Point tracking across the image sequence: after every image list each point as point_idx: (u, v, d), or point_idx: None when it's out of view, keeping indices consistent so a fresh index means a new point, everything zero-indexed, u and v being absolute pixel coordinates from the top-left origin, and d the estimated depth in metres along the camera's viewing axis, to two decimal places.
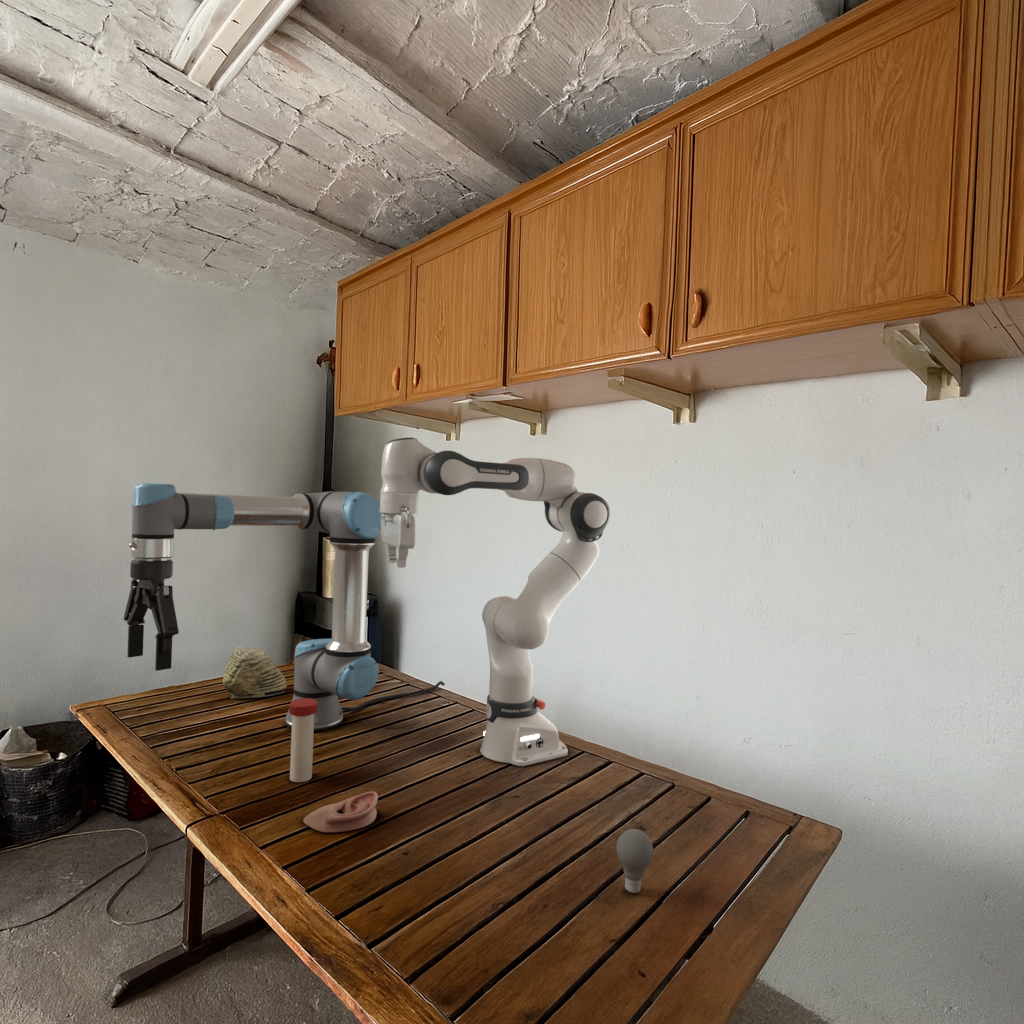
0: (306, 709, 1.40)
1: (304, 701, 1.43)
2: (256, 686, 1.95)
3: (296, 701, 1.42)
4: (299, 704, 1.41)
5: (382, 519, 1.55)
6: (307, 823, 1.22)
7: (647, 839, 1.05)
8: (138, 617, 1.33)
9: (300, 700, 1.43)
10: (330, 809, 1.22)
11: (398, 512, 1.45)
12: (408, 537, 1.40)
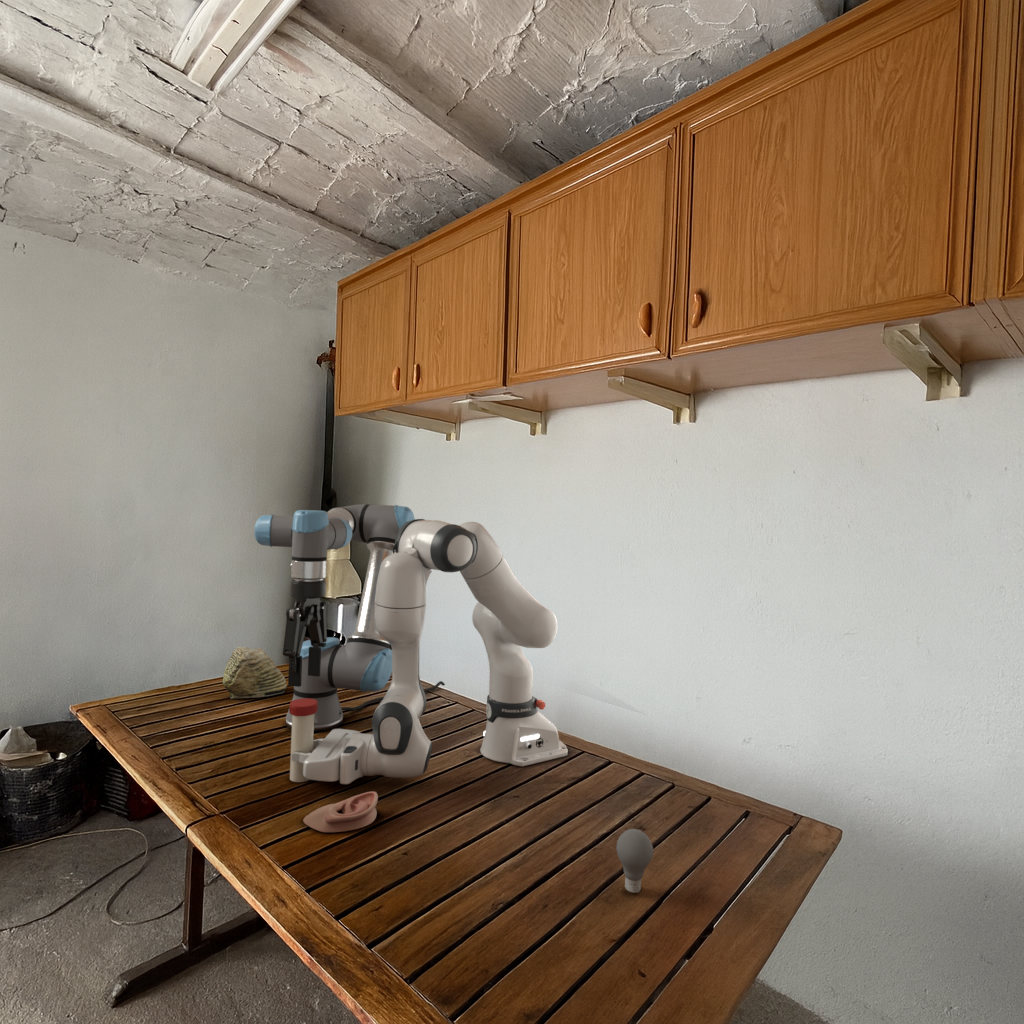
0: (306, 709, 1.40)
1: (304, 701, 1.43)
2: (256, 686, 1.95)
3: (296, 701, 1.43)
4: (299, 704, 1.41)
5: None
6: (307, 823, 1.22)
7: (647, 839, 1.05)
8: (314, 638, 1.46)
9: (300, 700, 1.43)
10: (330, 809, 1.22)
11: None
12: None
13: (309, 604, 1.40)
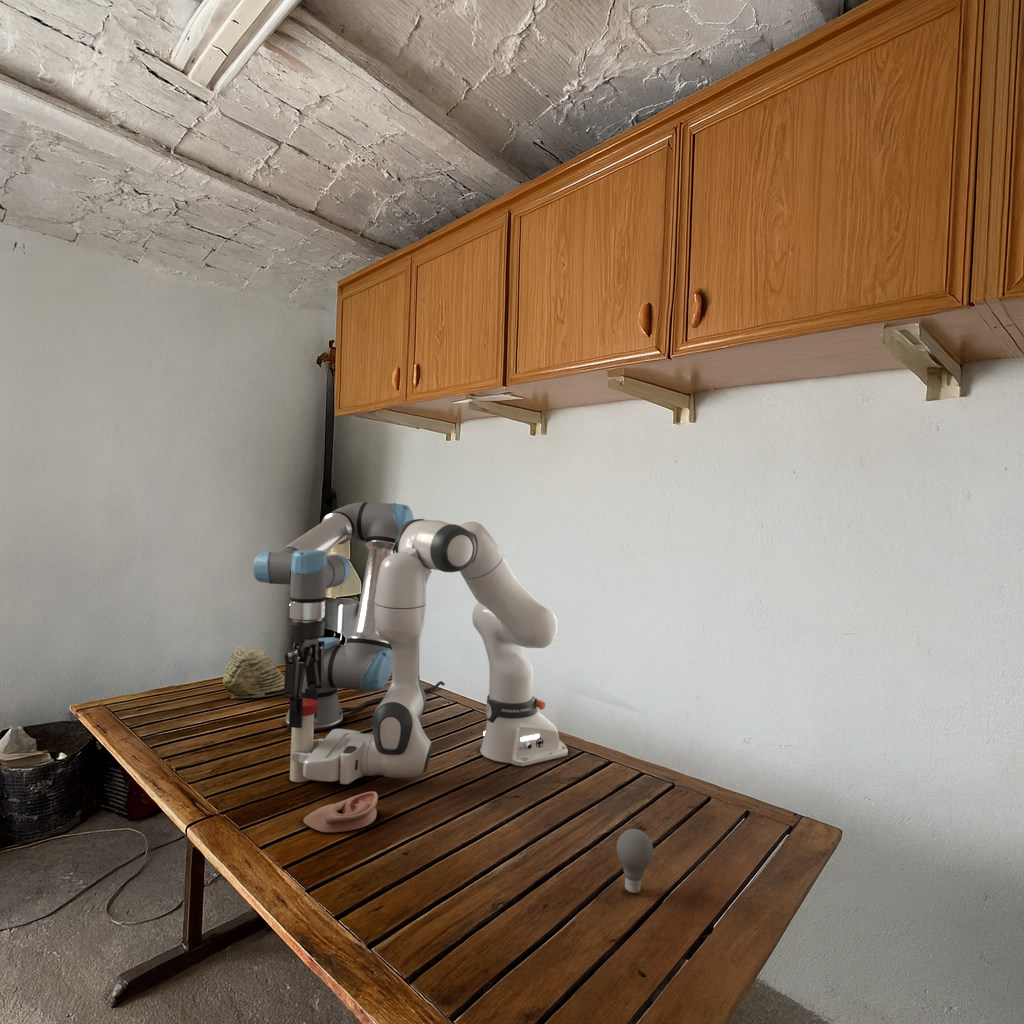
0: (306, 709, 1.40)
1: (304, 701, 1.43)
2: (256, 686, 1.95)
3: None
4: None
5: None
6: (307, 823, 1.22)
7: (647, 839, 1.05)
8: (311, 678, 1.45)
9: None
10: (330, 809, 1.22)
11: None
12: None
13: (307, 644, 1.40)
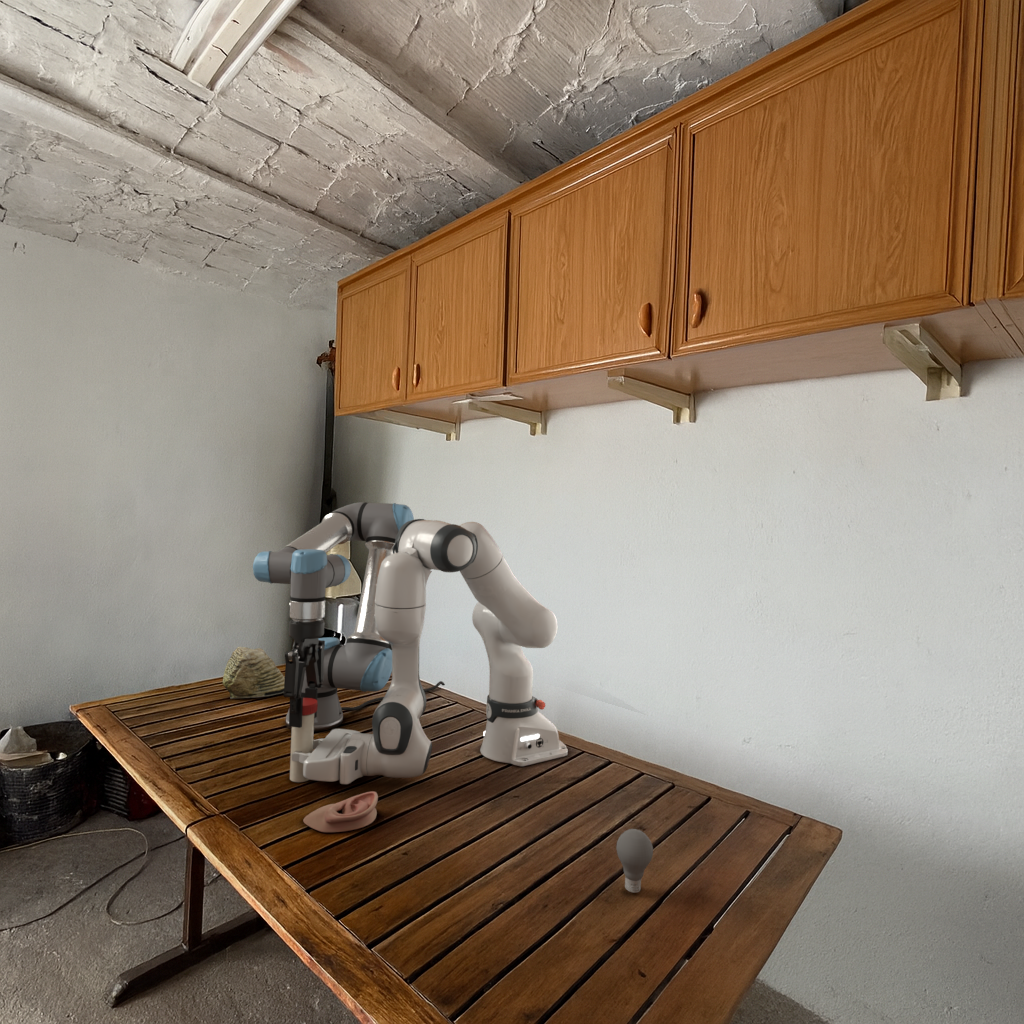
0: (316, 705, 1.42)
1: None
2: (256, 686, 1.95)
3: None
4: (307, 703, 1.41)
5: None
6: (307, 823, 1.22)
7: (647, 839, 1.05)
8: (311, 678, 1.45)
9: None
10: (330, 809, 1.22)
11: None
12: None
13: (307, 644, 1.40)
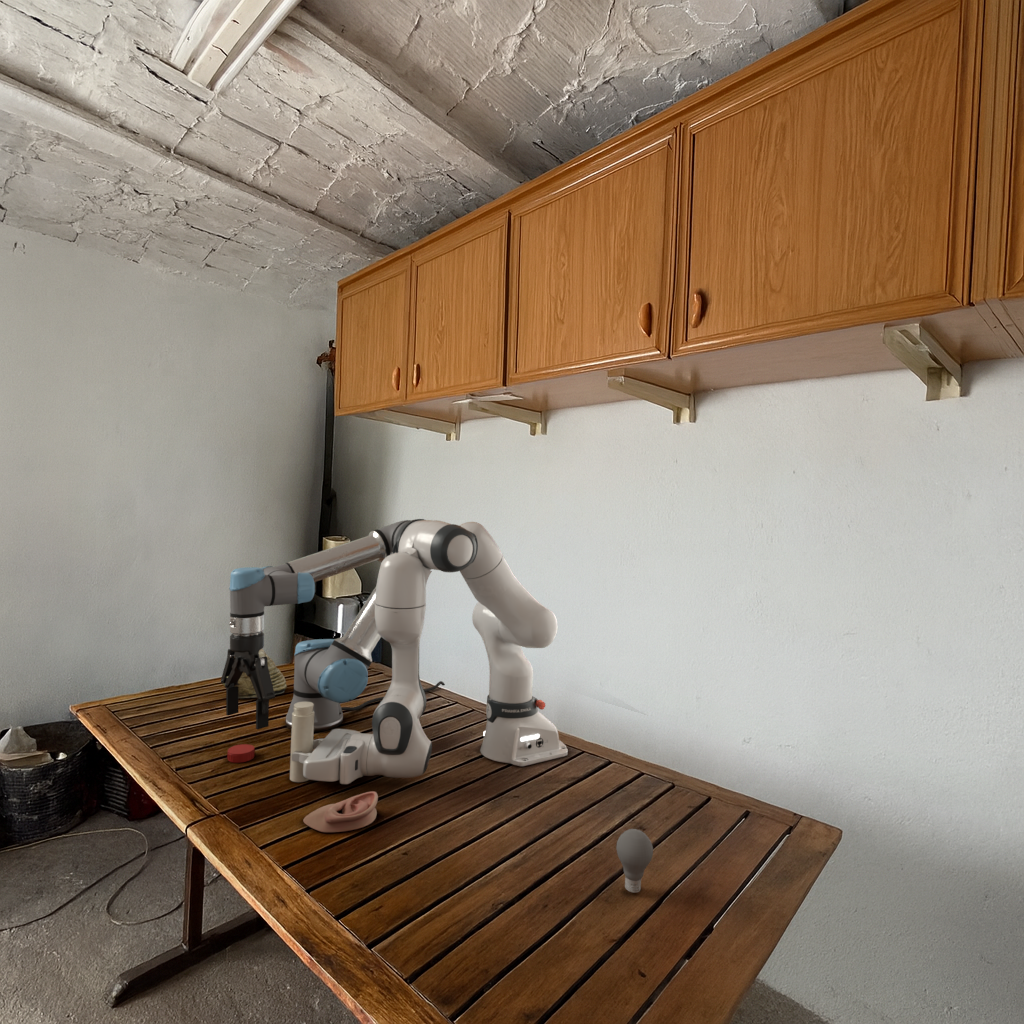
0: None
1: (238, 749, 1.51)
2: None
3: (241, 751, 1.50)
4: (248, 748, 1.52)
5: None
6: (307, 823, 1.22)
7: (647, 839, 1.05)
8: (234, 681, 1.55)
9: (236, 751, 1.50)
10: (330, 809, 1.22)
11: None
12: None
13: None
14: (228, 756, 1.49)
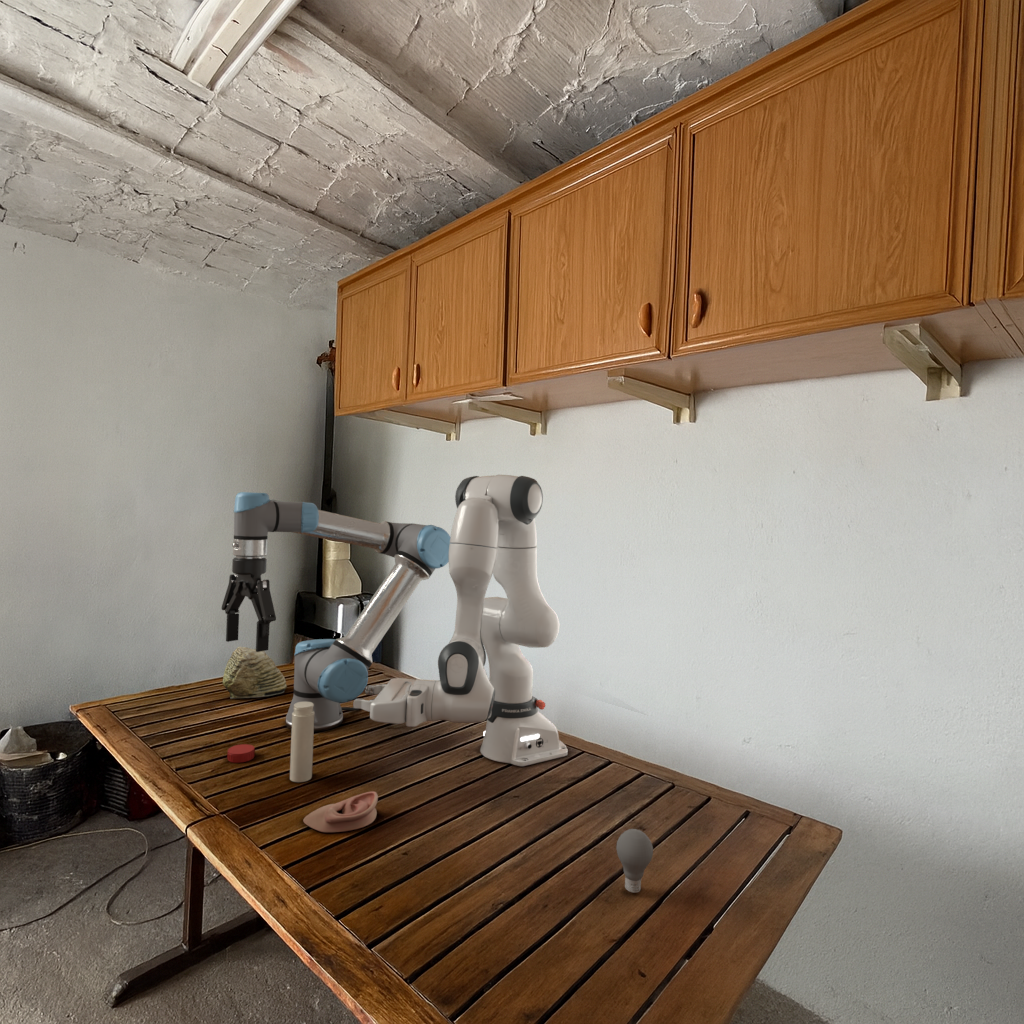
0: None
1: (238, 749, 1.51)
2: (256, 686, 1.95)
3: (241, 751, 1.50)
4: (248, 748, 1.52)
5: None
6: (307, 823, 1.22)
7: (647, 839, 1.05)
8: (235, 607, 1.55)
9: (236, 751, 1.50)
10: (330, 809, 1.22)
11: None
12: None
13: None
14: (228, 756, 1.49)
